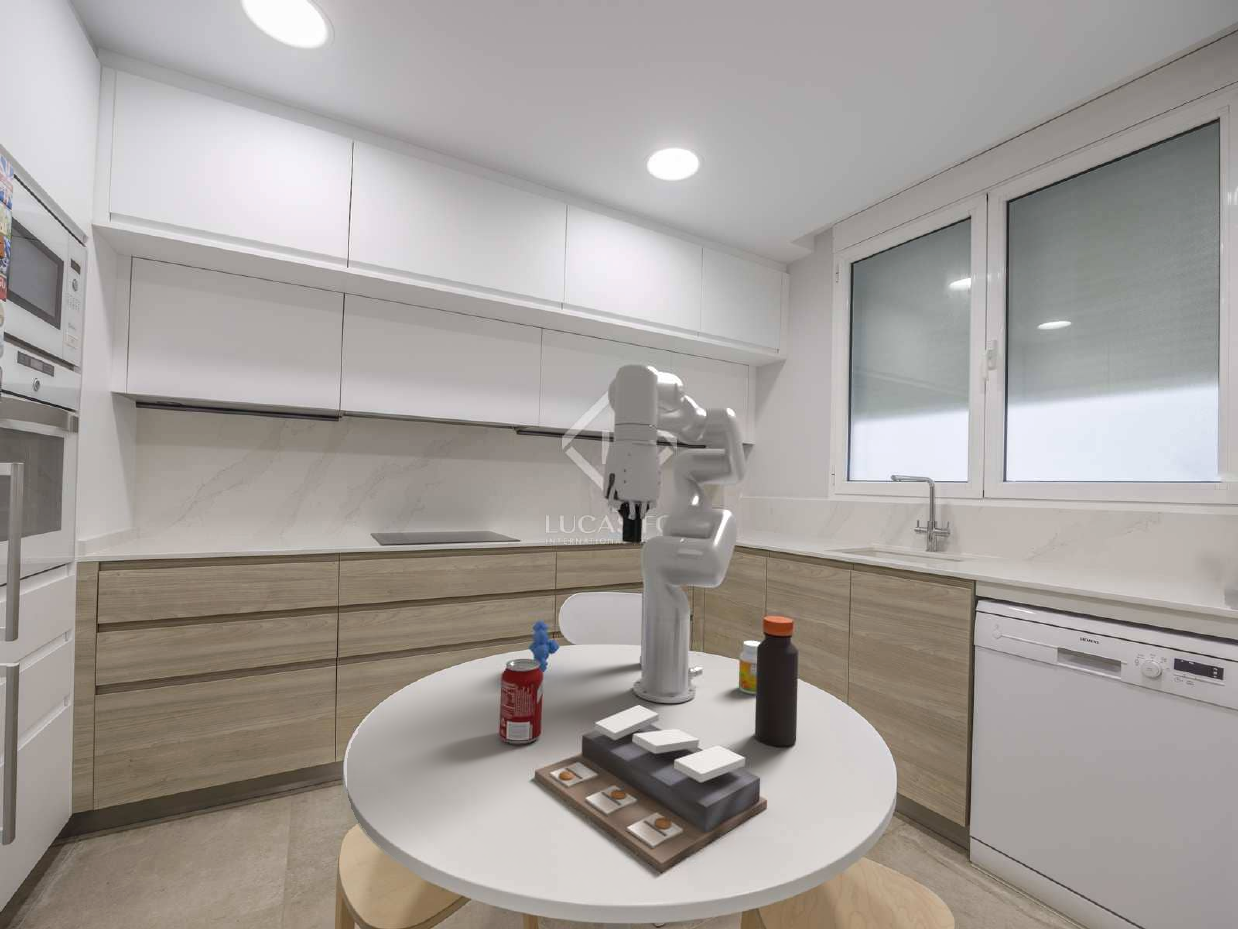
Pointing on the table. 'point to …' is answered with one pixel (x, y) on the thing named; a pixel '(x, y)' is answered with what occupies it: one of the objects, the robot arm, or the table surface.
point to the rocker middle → (665, 740)
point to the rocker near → (709, 763)
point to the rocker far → (626, 722)
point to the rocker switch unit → (651, 797)
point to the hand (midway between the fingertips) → (631, 541)
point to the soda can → (521, 701)
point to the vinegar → (776, 684)
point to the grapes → (542, 645)
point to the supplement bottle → (748, 667)
